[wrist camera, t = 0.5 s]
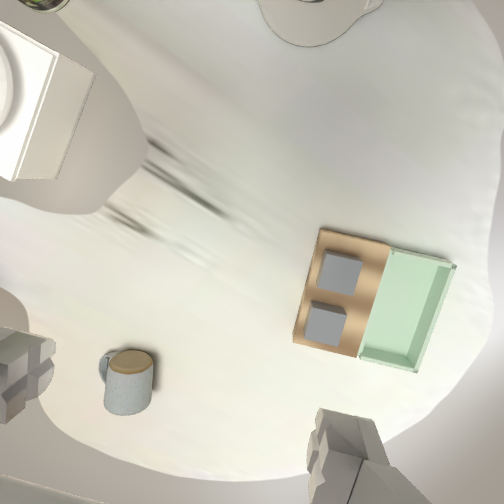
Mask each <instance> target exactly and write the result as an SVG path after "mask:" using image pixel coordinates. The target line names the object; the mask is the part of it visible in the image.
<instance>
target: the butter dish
mask: <svg viewBox="0 0 504 504" xmlns="http://www.w3.org/2000/svg"><path fill="white" fill-rule="evenodd" d="M95 77H96V74H94V72H92V71H90V70H89V69H87V68H85V67H83V66H82V65H80V64H78V63H76V62H74V61H72V60H70V59H69V58H67V57H66V56H64V55H62V54H60V53H58V52H56V51H54V50H52V49H50V48H49V47H47V46H45V45H43V44H42V43H40V42H38V41H36V40H34V39H33V38H31V37H29V36H27V35H26V34H24V33H22V32H20V31H19V30H17V29H15V28H13V27H11V26H10V25H8V24H6V23H4V22H3V21H1V20H0V176H2V177H4V178H5V179H7V180H9V181H15V180H16V178H17V179H58V176H59V174H60V171H61V168H62V166H63V163H64V160H65V157H66V155H67V152H68V149H69V147H70V144H71V141H72V139H73V136H74V133H75V131H76V128H77V125H78V123H79V120H80V117H81V115H82V112H83V109H84V107H85V104H86V101H87V99H88V96H89V93H90V90H91V88H92V85H93V83H94V80H95Z"/></svg>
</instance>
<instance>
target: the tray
mask: <svg viewBox="0 0 504 504" xmlns="http://www.w3.org/2000/svg"><path fill="white" fill-rule="evenodd" d="M456 267H457V265H455V264H453V263H451V262H449V261H447V260H445V259H443V258H439V257H434V256H430V255H425V254H421V253H416V252H412V251H407V250H403V249H398V248H394V247H391V249H390V253H389V256H388V259H387V262H386V265H385V268H384V272H383V275H382V278H381V281H380V284H379V287H378V291H377V294H376V297H375V300H374V303H373V306H372V310H371V313H370V316H369V319H368V322H367V325H366V328H365V332H364V335H363V338H362V341H361V344H360V347H359V351H358V354H357V356H359V358H360V360H364V361H369V362H373V363H377V364H381V365H385V366H389V367H393V368H397V369H401V370H405V371H409V372H414V373H417V372H418V370H419V367H420V364H421V362H422V359H423V356H424V353H425V351H426V348H427V345H428V343H429V340H430V337H431V335H432V332H433V329H434V326H435V324H436V321H437V318H438V316H439V313H440V310H441V307H442V305H443V302H444V299H445V297H446V294H447V291H448V289H449V286H450V283H451V280H452V278H453V275H454V272H455V270H456Z"/></svg>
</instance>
